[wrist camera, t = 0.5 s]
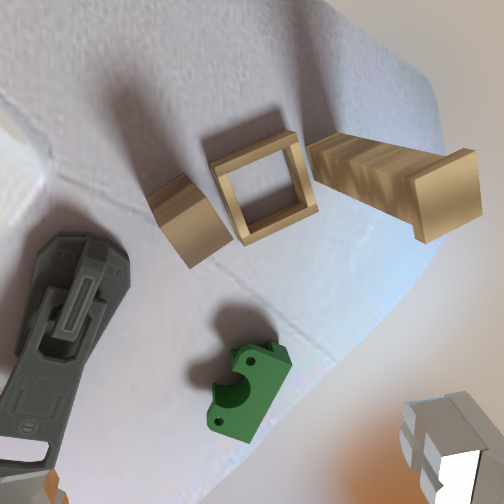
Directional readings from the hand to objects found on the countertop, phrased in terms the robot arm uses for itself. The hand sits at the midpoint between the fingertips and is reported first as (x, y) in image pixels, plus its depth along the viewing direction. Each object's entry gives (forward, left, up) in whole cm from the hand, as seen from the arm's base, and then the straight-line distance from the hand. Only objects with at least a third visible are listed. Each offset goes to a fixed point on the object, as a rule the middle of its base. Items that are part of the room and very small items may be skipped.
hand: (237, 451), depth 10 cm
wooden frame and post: (+7, +15, -37) cm, 40 cm away
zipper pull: (+14, -14, -37) cm, 42 cm away
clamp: (+28, +2, -37) cm, 47 cm away
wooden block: (+5, +3, -37) cm, 37 cm away
